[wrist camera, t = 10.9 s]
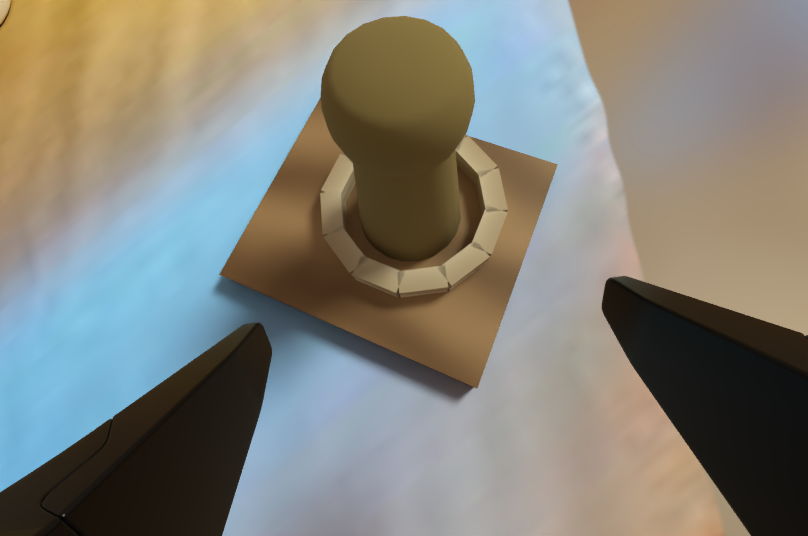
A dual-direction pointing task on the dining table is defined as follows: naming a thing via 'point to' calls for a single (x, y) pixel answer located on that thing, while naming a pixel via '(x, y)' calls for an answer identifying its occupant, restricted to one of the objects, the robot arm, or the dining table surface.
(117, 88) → the dining table surface
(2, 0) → the fruit juice
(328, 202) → the ring board
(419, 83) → the olive brown pestle
